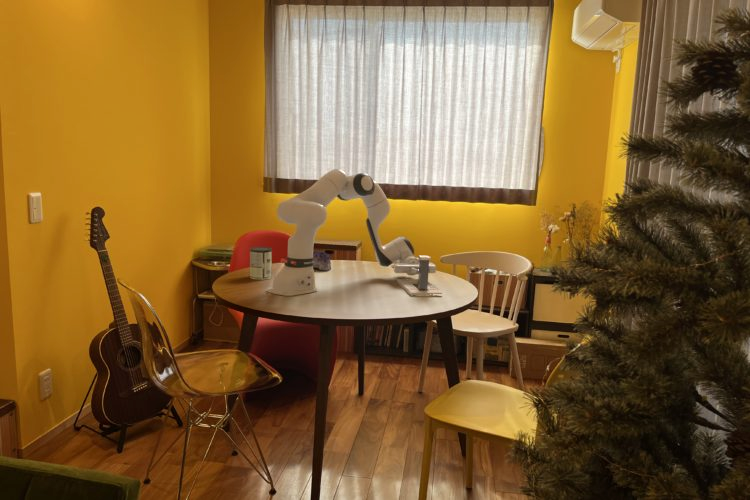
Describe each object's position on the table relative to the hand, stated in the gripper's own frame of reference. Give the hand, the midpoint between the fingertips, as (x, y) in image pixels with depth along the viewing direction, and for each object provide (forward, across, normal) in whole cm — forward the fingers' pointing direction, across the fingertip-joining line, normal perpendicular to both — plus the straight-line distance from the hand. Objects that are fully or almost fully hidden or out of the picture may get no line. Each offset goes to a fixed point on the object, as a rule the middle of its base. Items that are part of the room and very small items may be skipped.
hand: (418, 271), depth 260 cm
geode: (-46, -41, +8) cm, 63 cm away
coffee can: (-20, -72, +8) cm, 75 cm away
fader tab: (+9, 0, +8) cm, 12 cm away
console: (+2, 0, +8) cm, 8 cm away
